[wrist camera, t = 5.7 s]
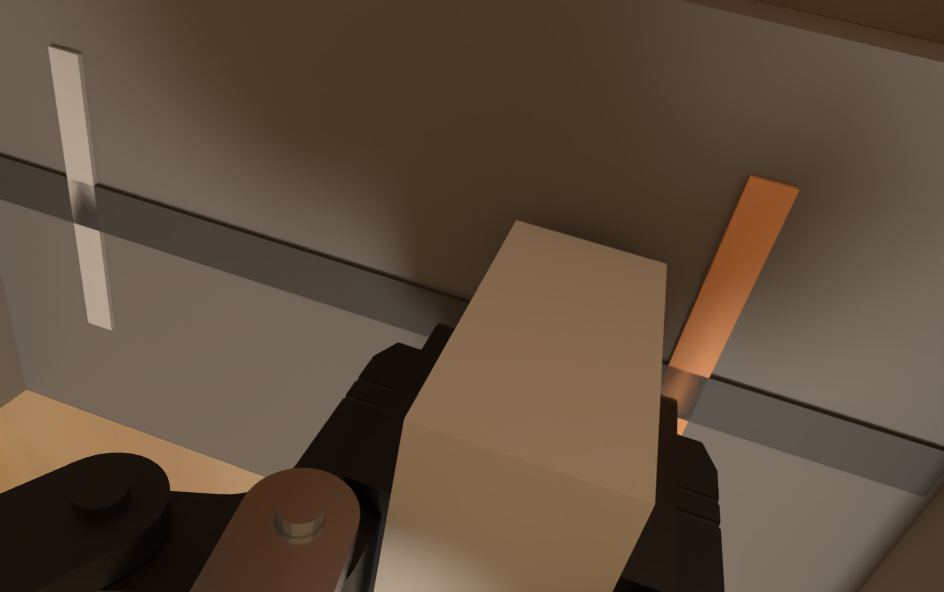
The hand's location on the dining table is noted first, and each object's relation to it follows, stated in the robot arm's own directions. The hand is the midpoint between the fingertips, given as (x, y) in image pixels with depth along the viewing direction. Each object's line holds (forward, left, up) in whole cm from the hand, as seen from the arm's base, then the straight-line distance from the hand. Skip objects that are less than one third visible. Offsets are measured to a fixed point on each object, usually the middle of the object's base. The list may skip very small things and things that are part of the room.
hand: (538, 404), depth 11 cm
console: (0, -3, -5) cm, 5 cm away
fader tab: (0, 0, -1) cm, 1 cm away
